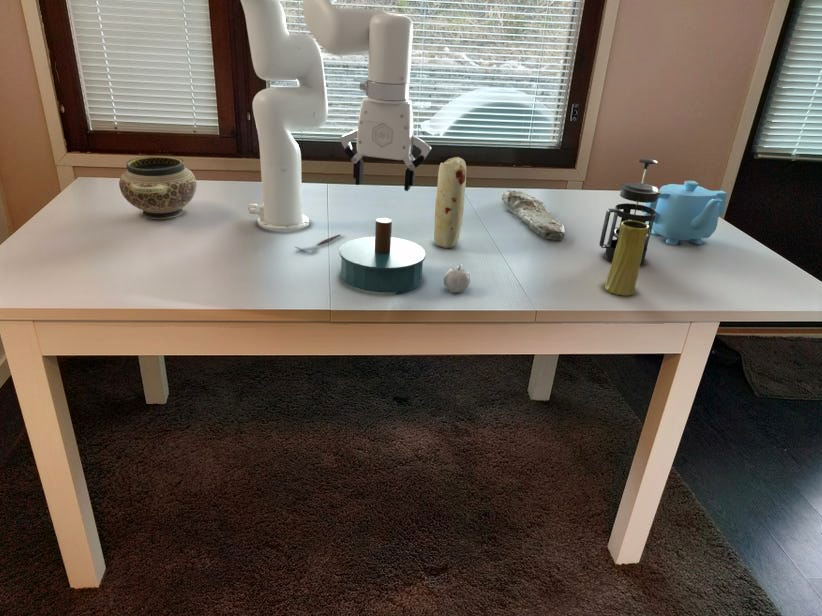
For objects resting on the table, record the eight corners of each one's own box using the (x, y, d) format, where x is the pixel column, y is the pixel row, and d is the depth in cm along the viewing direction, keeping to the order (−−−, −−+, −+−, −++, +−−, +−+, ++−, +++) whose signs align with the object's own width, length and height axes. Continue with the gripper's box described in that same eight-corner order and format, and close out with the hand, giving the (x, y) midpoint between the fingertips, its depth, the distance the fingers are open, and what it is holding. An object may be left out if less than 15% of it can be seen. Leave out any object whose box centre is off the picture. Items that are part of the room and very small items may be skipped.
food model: (461, 252, 151) (470, 165, 140) (432, 250, 151) (439, 163, 140) (459, 238, 159) (468, 154, 149) (432, 236, 159) (439, 152, 149)
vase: (600, 284, 138) (614, 219, 131) (627, 284, 139) (643, 219, 132) (610, 296, 133) (626, 229, 126) (639, 296, 134) (656, 229, 126)
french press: (638, 252, 156) (662, 155, 145) (654, 267, 148) (681, 165, 137) (590, 251, 155) (611, 153, 144) (604, 266, 147) (627, 163, 136)
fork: (345, 238, 155) (345, 230, 154) (303, 257, 143) (302, 248, 142) (336, 235, 156) (336, 227, 155) (293, 254, 144) (293, 246, 143)
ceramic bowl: (152, 208, 175) (130, 152, 168) (215, 194, 174) (195, 138, 166) (121, 240, 154) (93, 178, 146) (192, 225, 153) (168, 161, 145)
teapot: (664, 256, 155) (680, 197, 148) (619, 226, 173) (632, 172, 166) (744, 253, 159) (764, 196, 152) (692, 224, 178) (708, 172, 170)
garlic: (455, 282, 135) (457, 258, 133) (475, 290, 132) (478, 266, 130) (436, 289, 131) (438, 265, 129) (457, 298, 128) (459, 273, 126)
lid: (328, 266, 126) (327, 229, 123) (352, 237, 141) (352, 203, 137) (416, 278, 124) (419, 240, 120) (431, 247, 139) (434, 212, 135)
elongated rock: (535, 246, 160) (572, 248, 162) (540, 226, 157) (577, 228, 159) (492, 197, 188) (524, 199, 190) (496, 179, 185) (528, 181, 188)
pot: (331, 288, 129) (331, 262, 127) (353, 259, 143) (353, 235, 141) (412, 299, 127) (414, 273, 124) (427, 268, 141) (429, 244, 138)
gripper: (335, 90, 115) (334, 185, 124) (431, 100, 112) (423, 197, 121) (347, 84, 121) (345, 175, 130) (438, 93, 119) (430, 186, 128)
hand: (383, 185), depth 126 cm, fingers open, 9 cm apart
